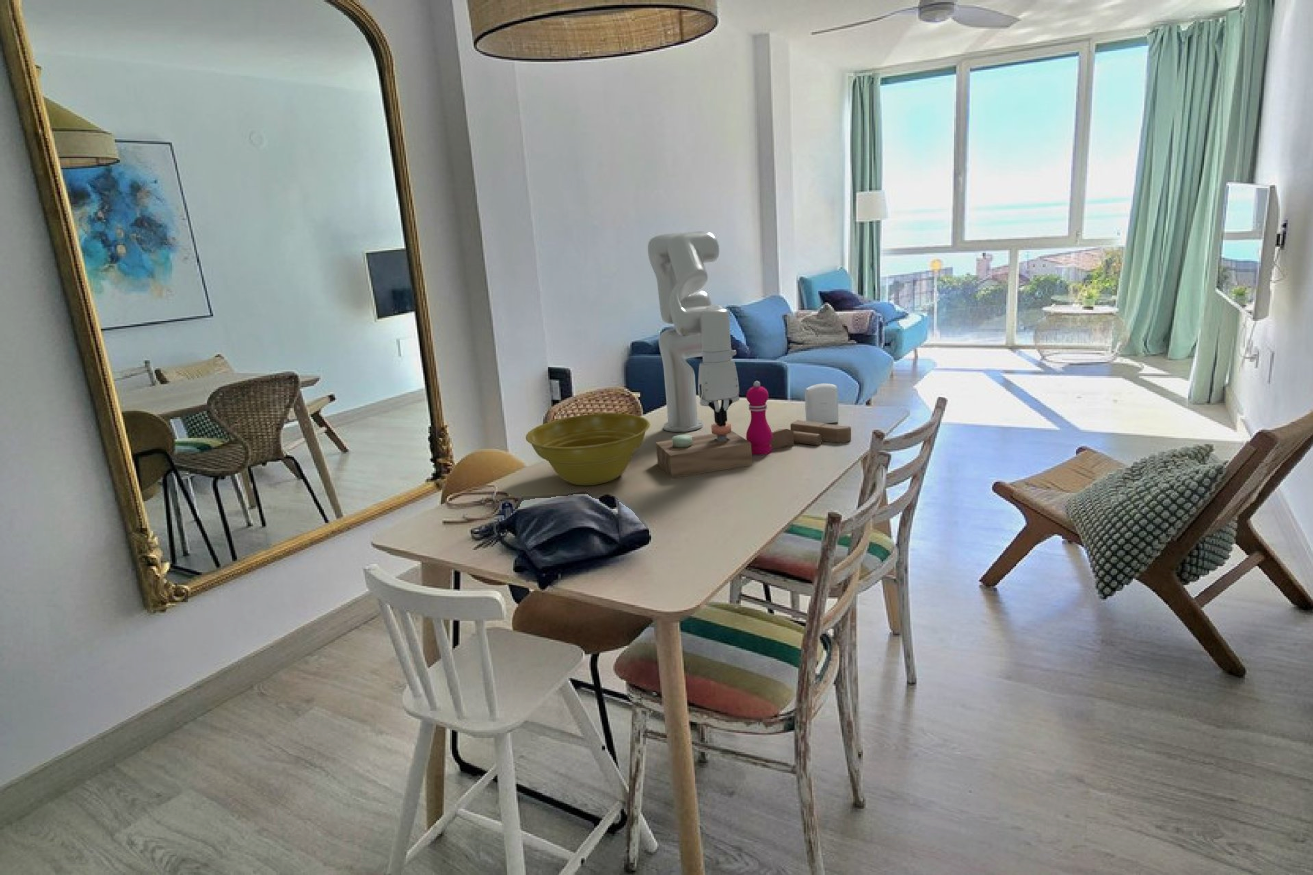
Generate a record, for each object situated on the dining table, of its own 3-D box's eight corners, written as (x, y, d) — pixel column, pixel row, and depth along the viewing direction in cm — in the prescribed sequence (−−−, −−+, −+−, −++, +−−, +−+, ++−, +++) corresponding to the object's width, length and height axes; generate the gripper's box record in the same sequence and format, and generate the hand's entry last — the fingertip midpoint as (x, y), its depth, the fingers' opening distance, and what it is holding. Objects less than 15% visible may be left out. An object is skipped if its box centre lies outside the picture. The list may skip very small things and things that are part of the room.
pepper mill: (772, 455, 204) (769, 383, 199) (746, 455, 206) (742, 384, 200) (773, 447, 211) (770, 377, 206) (747, 448, 212) (744, 378, 207)
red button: (710, 450, 204) (708, 424, 202) (728, 447, 205) (726, 421, 203) (716, 455, 199) (715, 428, 197) (735, 452, 200) (733, 425, 198)
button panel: (657, 463, 205) (655, 442, 204) (733, 451, 211) (732, 430, 209) (671, 478, 192) (670, 455, 191) (752, 464, 197) (750, 443, 196)
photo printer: (808, 427, 229) (807, 387, 226) (803, 423, 233) (802, 384, 230) (840, 423, 230) (840, 383, 227) (835, 419, 234) (834, 381, 231)
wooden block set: (794, 416, 222) (851, 422, 211) (795, 434, 223) (852, 441, 212) (765, 430, 209) (824, 437, 198) (765, 449, 211) (824, 457, 200)
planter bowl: (589, 507, 176) (583, 453, 173) (507, 484, 198) (500, 436, 194) (679, 469, 199) (675, 420, 195) (596, 452, 220) (591, 408, 217)
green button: (672, 463, 202) (669, 436, 200) (690, 460, 203) (688, 433, 201) (677, 468, 197) (675, 441, 195) (696, 465, 198) (694, 438, 196)
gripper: (738, 351, 200) (742, 418, 205) (685, 358, 197) (690, 425, 202) (749, 355, 193) (752, 424, 198) (694, 362, 190) (698, 432, 195)
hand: (721, 424), depth 200 cm, fingers closed
